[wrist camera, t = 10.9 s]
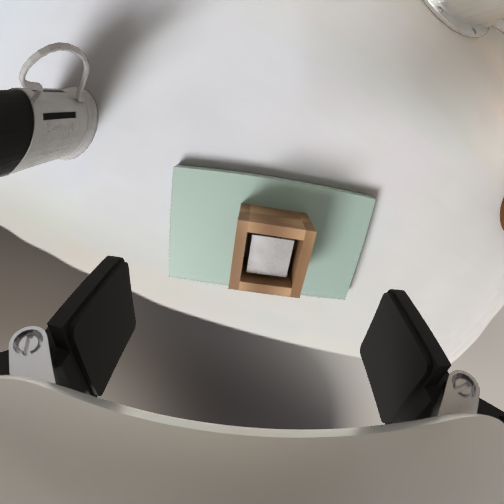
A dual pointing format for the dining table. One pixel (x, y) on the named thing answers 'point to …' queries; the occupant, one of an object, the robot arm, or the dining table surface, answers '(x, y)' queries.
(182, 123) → the dining table surface
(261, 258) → the white plaster cube
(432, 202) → the dining table surface
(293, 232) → the walnut collar
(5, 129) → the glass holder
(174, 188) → the base board
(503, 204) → the mug
